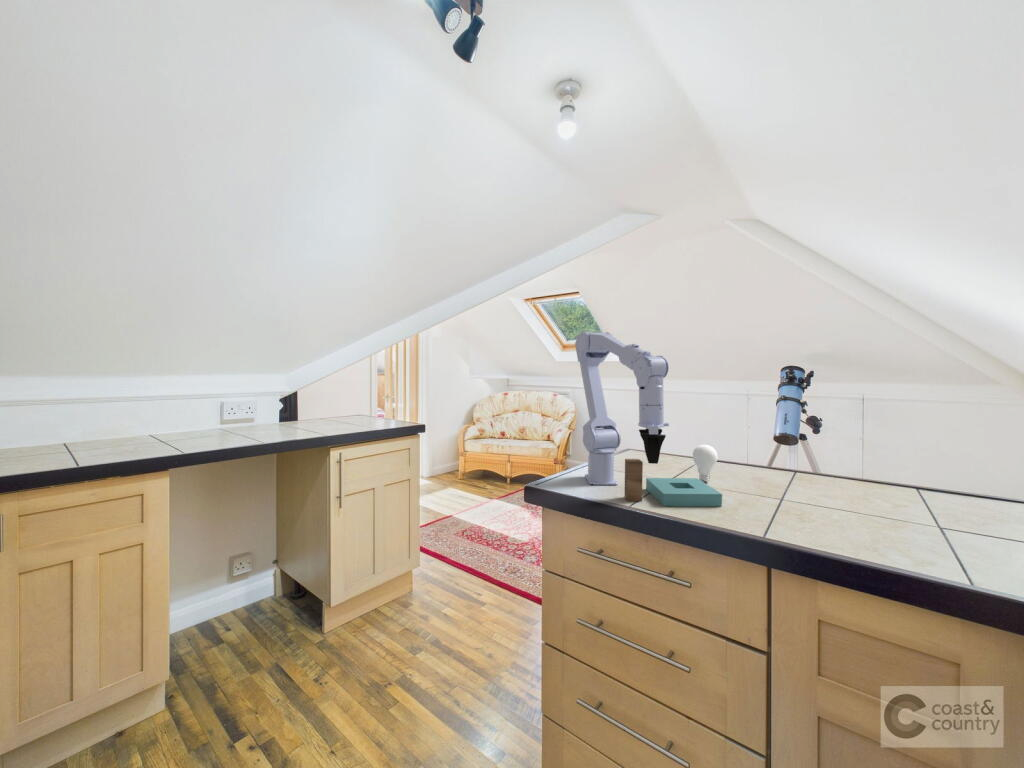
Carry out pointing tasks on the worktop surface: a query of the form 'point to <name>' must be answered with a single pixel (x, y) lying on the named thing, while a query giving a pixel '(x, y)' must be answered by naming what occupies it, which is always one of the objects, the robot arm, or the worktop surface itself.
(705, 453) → the light bulb
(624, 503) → the worktop surface
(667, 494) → the socket block
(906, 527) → the worktop surface
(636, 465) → the peg
